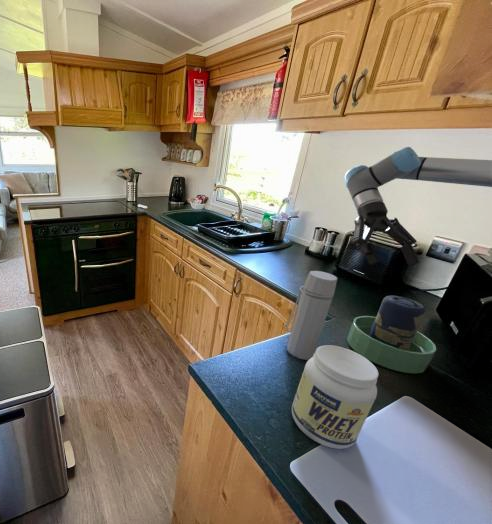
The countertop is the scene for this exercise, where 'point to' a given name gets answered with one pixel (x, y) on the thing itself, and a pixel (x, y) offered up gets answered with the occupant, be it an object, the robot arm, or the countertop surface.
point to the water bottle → (310, 314)
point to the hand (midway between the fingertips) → (394, 263)
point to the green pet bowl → (390, 348)
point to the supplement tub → (335, 396)
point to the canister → (397, 322)
